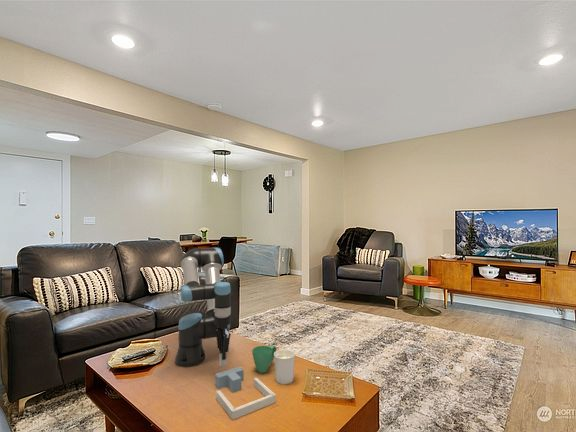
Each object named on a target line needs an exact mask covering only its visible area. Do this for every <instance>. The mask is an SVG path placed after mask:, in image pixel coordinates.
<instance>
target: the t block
mask: <svg viewBox="0 0 576 432" xmlns="http://www.w3.org/2000/svg"><path fill="white" fill-rule="evenodd" d="M214 374H215V375H214V376H215V378H214V381H215V383H214V384H215V387H217V389H218V390H220V389H224V388H228V389H229V390H230V391H231V392H232V393H235V392H236V393H237V392H238V391H241V390H242V382H244V380H245V379H244V375H245V373H244V369H243V368H242V367H241V366H235V367H234V368H229V369H227V370H224V371H220V372H217V373H214Z"/></svg>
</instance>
